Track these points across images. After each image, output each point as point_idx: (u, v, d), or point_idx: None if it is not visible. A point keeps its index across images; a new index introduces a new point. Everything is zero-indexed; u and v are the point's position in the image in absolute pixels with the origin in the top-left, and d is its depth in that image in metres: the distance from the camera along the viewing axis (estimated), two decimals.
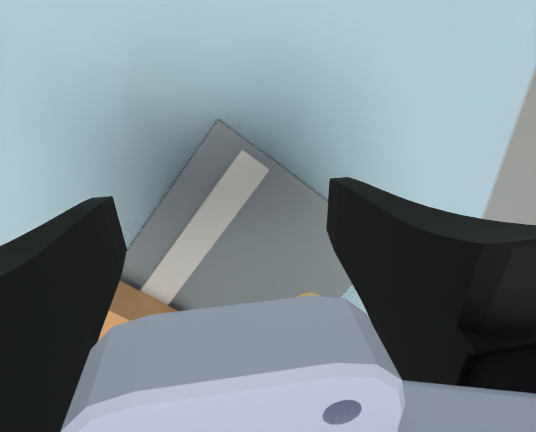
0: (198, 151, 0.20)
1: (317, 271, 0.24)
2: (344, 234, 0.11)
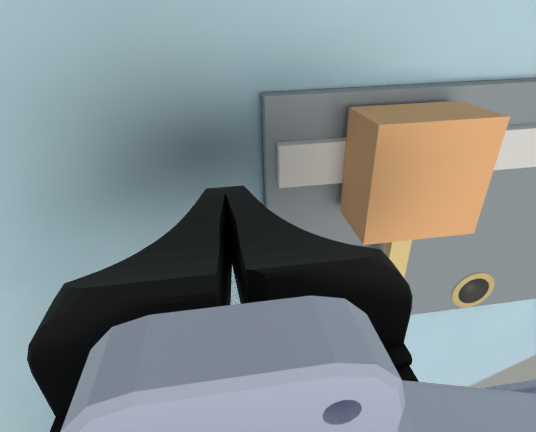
0: None
1: (518, 268, 0.22)
2: (232, 245, 0.10)
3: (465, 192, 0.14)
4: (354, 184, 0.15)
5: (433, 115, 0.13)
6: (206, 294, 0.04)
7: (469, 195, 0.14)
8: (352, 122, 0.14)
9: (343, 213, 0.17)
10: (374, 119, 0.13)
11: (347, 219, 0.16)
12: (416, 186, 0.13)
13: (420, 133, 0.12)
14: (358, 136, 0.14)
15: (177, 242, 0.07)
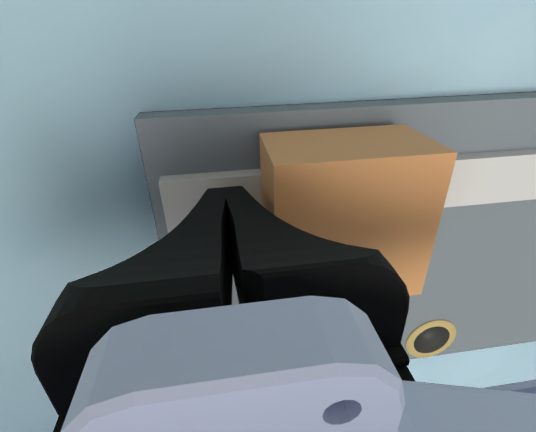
0: None
1: (483, 314, 0.18)
2: (230, 245, 0.10)
3: (405, 247, 0.11)
4: None
5: (357, 149, 0.10)
6: (210, 293, 0.04)
7: (410, 250, 0.11)
8: (262, 153, 0.11)
9: None
10: (273, 155, 0.09)
11: None
12: (337, 241, 0.10)
13: (334, 175, 0.09)
14: (265, 172, 0.11)
15: (179, 242, 0.07)
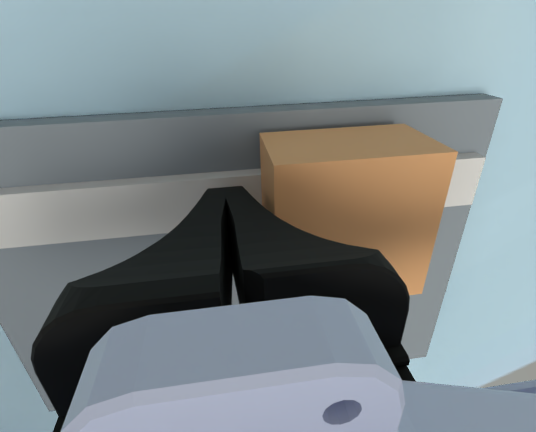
0: (448, 104, 0.12)
1: None
2: (230, 245, 0.10)
3: (405, 246, 0.11)
4: None
5: (357, 148, 0.10)
6: (209, 293, 0.04)
7: (411, 250, 0.11)
8: (262, 153, 0.11)
9: None
10: (274, 155, 0.09)
11: None
12: (337, 241, 0.10)
13: (334, 175, 0.09)
14: (265, 172, 0.11)
15: (179, 242, 0.07)
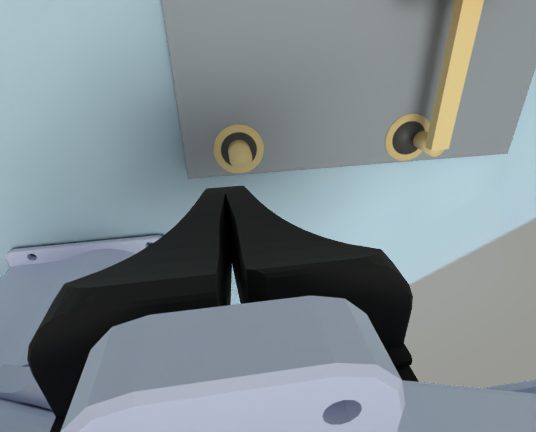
0: None
1: None
2: (232, 245, 0.10)
3: None
4: None
5: None
6: (206, 294, 0.04)
7: None
8: None
9: None
10: None
11: None
12: None
13: None
14: None
15: (177, 242, 0.07)
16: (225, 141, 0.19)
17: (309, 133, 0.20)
